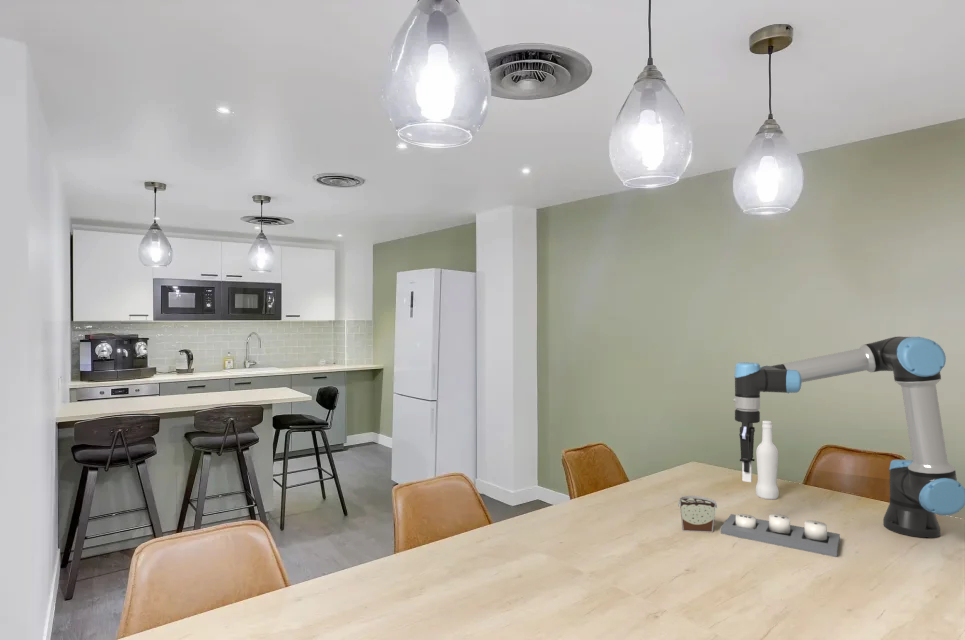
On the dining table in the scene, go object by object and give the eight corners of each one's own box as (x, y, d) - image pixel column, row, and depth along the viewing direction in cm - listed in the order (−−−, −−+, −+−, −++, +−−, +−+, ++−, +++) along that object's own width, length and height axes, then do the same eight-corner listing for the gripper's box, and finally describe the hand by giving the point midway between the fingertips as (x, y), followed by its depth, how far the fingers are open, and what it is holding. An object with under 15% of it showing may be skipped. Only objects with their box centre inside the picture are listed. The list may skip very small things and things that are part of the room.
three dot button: (757, 528, 188) (757, 515, 189) (753, 533, 184) (753, 520, 184) (737, 524, 192) (737, 512, 192) (733, 529, 187) (733, 517, 187)
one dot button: (827, 536, 177) (827, 522, 177) (826, 541, 172) (826, 528, 172) (805, 531, 181) (805, 518, 181) (803, 537, 176) (803, 523, 176)
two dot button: (791, 529, 183) (791, 516, 183) (788, 534, 178) (788, 521, 178) (770, 525, 186) (770, 512, 186) (767, 530, 181) (767, 517, 181)
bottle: (782, 500, 221) (782, 422, 221) (761, 499, 221) (761, 422, 221) (772, 494, 229) (772, 419, 229) (752, 493, 229) (752, 419, 229)
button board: (839, 540, 179) (839, 533, 180) (836, 557, 166) (836, 550, 166) (731, 519, 198) (731, 514, 198) (720, 533, 185) (720, 527, 185)
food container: (711, 525, 192) (711, 496, 192) (717, 532, 185) (717, 501, 186) (673, 524, 193) (674, 494, 193) (678, 530, 187) (678, 500, 187)
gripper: (738, 406, 195) (738, 475, 195) (730, 410, 185) (730, 483, 184) (763, 408, 191) (762, 478, 191) (756, 413, 180) (756, 487, 180)
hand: (747, 481), depth 188 cm, fingers closed
